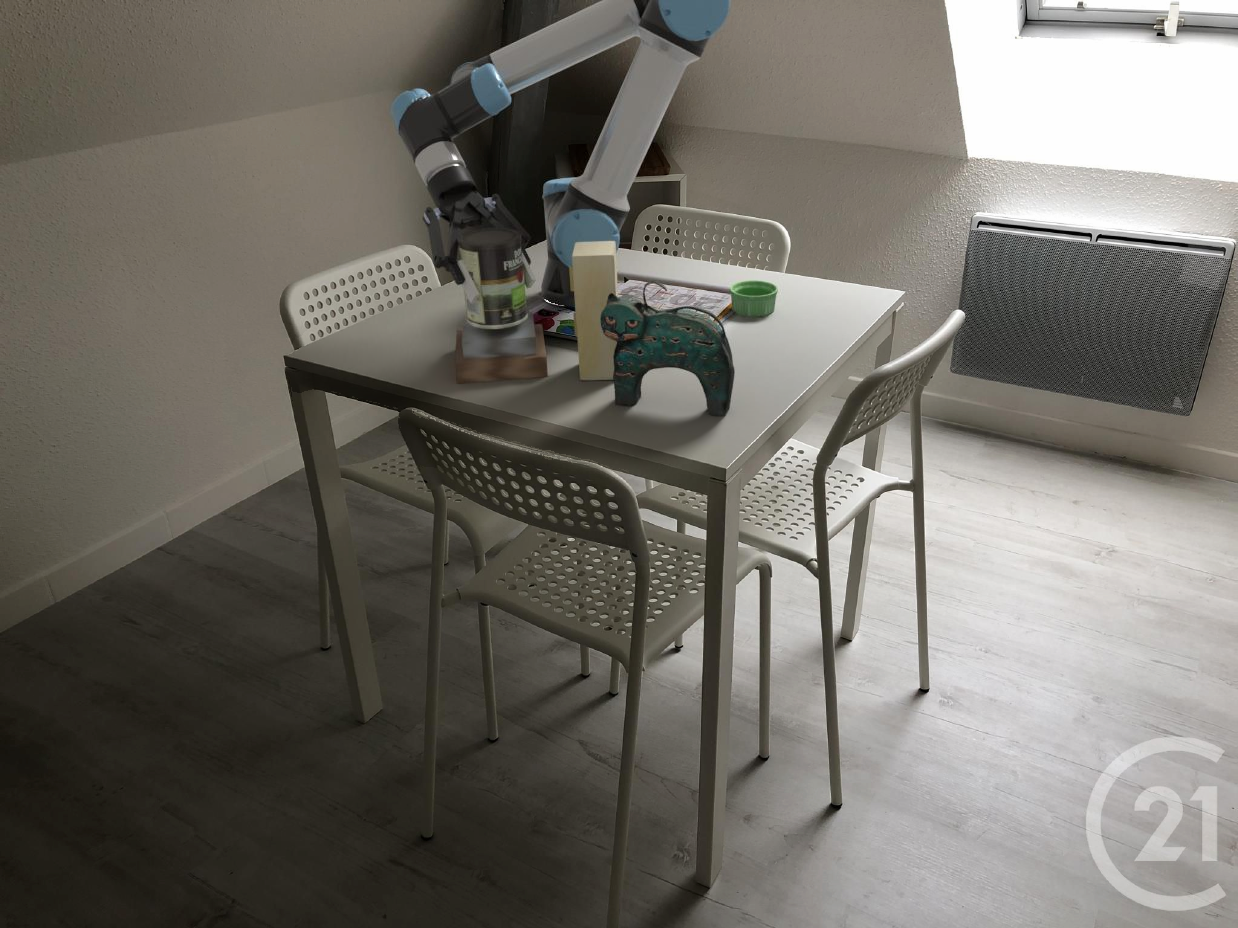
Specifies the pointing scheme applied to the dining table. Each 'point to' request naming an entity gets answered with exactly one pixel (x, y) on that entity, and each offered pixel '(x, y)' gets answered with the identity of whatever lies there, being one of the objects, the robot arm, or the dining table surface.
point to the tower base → (501, 363)
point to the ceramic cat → (667, 348)
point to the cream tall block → (593, 306)
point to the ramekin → (753, 298)
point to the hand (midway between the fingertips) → (503, 291)
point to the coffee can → (494, 277)
